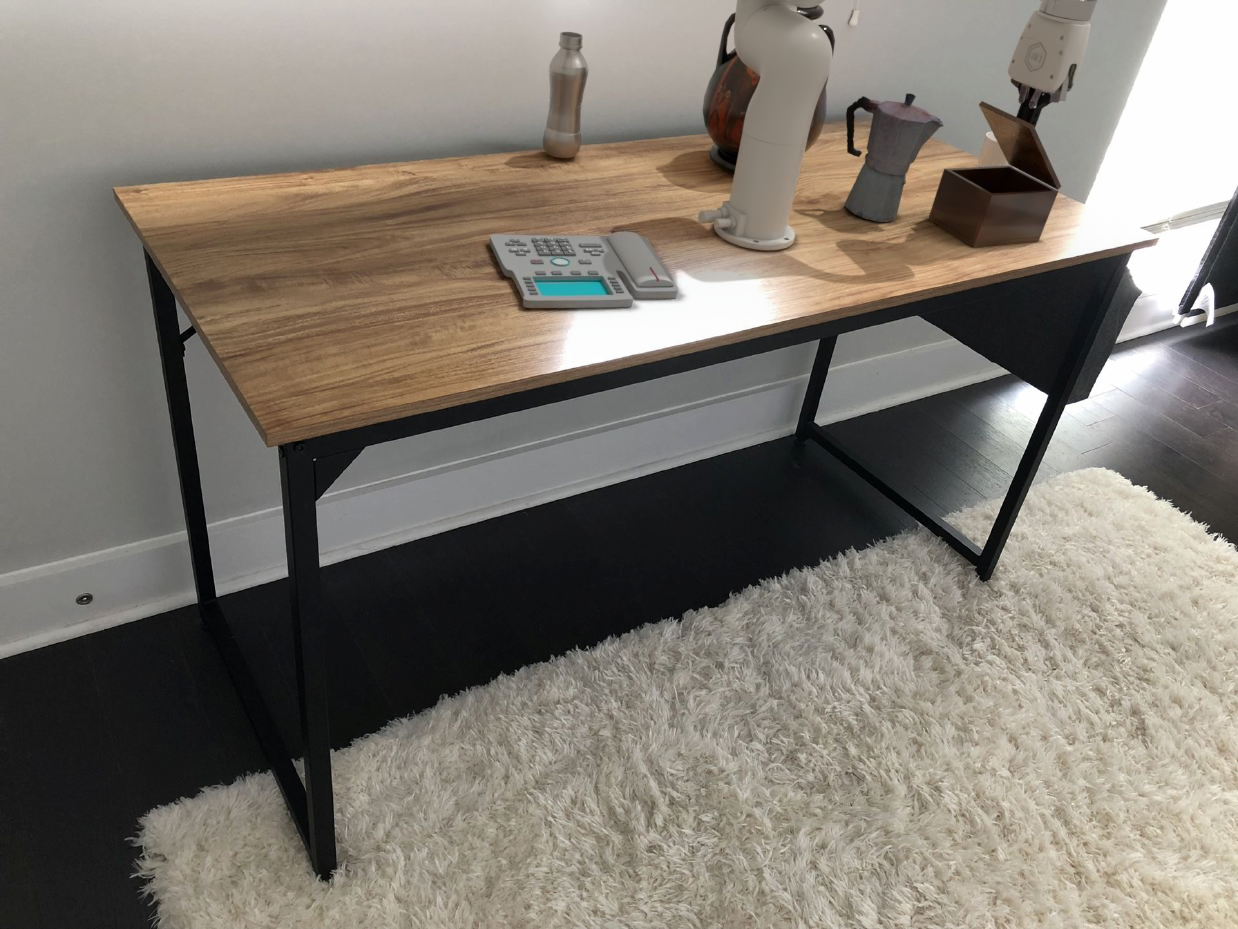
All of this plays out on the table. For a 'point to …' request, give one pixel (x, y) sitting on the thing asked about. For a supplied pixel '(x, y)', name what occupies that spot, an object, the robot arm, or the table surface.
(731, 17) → the amphora vase
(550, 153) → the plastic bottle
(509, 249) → the office telephone
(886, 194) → the moka pot
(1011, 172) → the box
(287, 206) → the table surface
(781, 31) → the robot arm
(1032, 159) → the lid
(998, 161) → the white cup
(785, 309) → the table surface
